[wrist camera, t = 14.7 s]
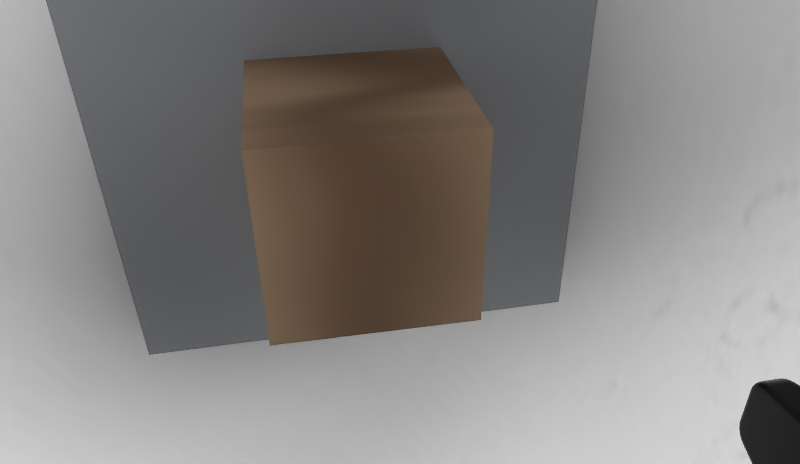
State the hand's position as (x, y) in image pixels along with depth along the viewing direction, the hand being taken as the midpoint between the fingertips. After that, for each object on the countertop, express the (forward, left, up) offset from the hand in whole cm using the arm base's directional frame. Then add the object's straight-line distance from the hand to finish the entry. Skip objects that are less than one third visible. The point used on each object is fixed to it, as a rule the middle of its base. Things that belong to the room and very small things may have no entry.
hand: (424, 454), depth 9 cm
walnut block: (0, +1, -10) cm, 10 cm away
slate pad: (0, 0, -11) cm, 11 cm away
